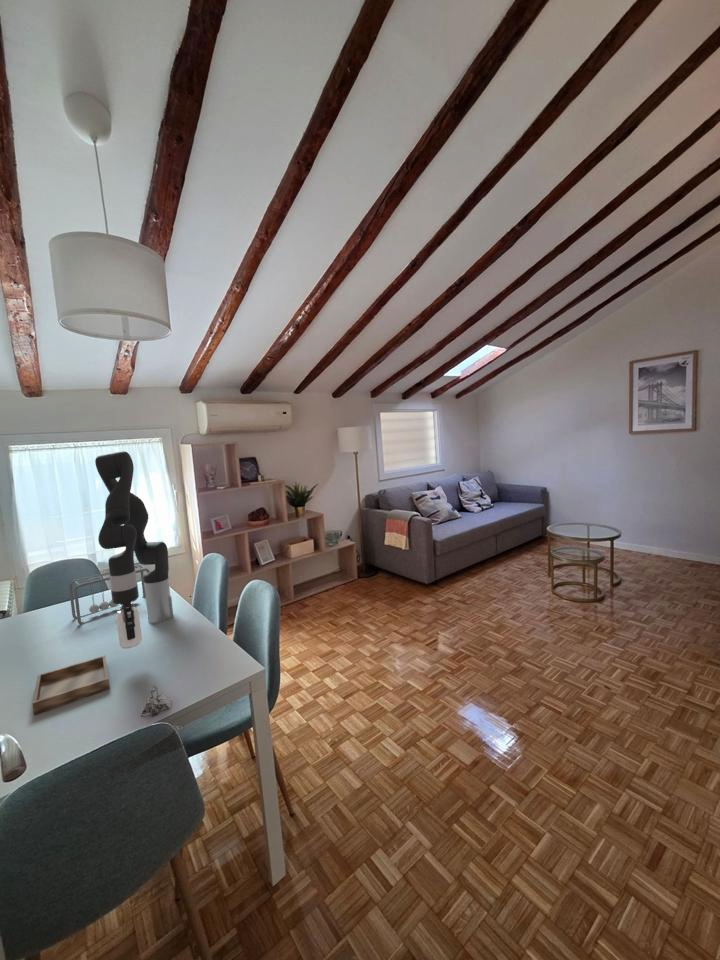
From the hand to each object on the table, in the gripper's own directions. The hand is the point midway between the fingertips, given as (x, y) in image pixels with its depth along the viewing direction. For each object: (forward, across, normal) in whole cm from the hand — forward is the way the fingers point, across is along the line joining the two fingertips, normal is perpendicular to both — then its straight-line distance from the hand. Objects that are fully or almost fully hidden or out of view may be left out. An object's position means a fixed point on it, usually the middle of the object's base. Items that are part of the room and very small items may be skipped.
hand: (130, 635), depth 132 cm
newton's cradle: (+12, +63, +1) cm, 64 cm away
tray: (+11, 0, +16) cm, 20 cm away
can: (+3, 0, 0) cm, 3 cm away
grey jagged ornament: (+12, -32, -1) cm, 34 cm away
